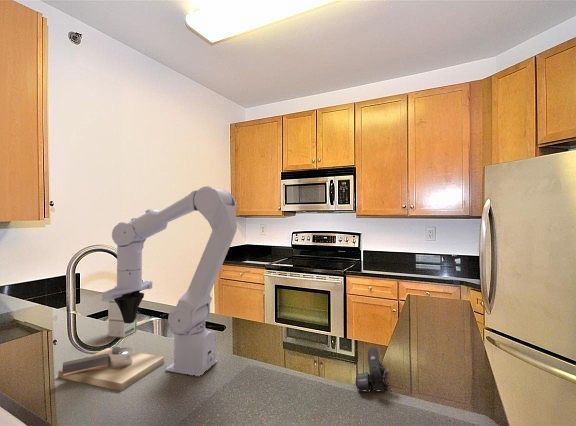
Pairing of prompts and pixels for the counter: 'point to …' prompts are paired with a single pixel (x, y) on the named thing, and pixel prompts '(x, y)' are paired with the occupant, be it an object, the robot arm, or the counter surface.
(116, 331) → the syrup box
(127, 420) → the counter surface
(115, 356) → the grey bar with knob
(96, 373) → the cutting board
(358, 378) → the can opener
